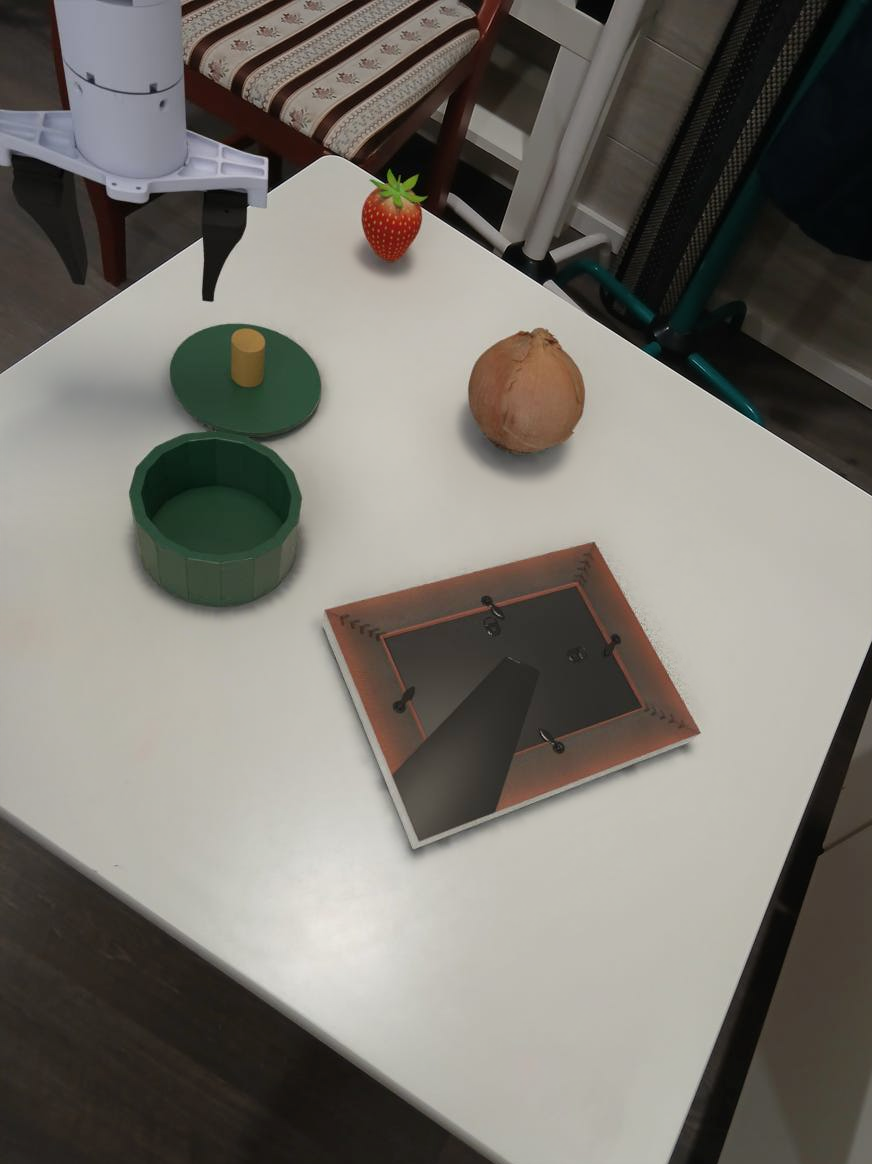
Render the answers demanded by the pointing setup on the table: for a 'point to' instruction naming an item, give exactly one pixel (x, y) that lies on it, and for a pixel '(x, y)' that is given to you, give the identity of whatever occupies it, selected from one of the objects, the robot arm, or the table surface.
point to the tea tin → (215, 517)
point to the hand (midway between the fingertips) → (145, 282)
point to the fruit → (392, 217)
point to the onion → (526, 392)
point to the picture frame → (504, 688)
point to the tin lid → (245, 380)
